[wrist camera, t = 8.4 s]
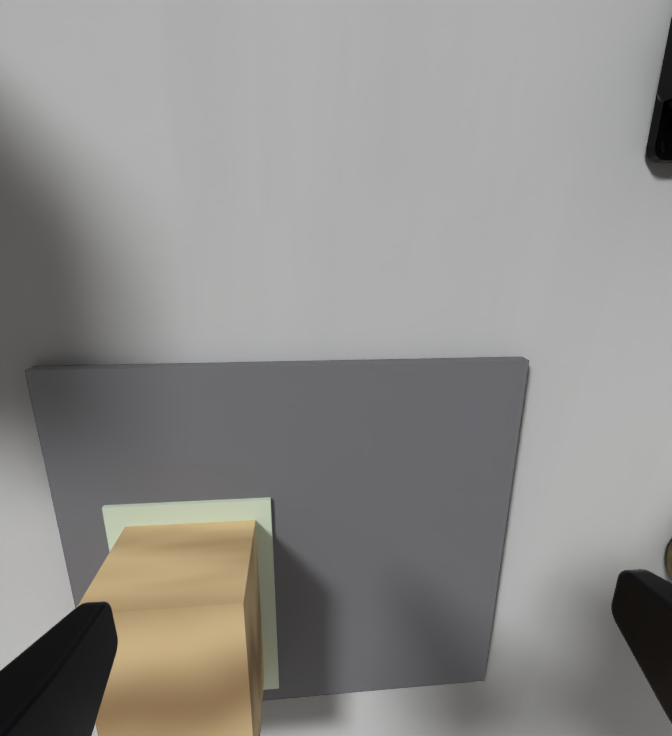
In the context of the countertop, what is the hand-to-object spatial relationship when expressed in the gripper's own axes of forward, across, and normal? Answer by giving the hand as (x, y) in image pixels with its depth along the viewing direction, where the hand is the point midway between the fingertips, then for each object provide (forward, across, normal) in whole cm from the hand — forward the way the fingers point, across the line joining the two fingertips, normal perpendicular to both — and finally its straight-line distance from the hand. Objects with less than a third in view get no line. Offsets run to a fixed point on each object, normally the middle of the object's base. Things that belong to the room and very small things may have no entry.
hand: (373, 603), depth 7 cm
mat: (+11, +2, +8) cm, 14 cm away
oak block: (+10, +6, +10) cm, 16 cm away
